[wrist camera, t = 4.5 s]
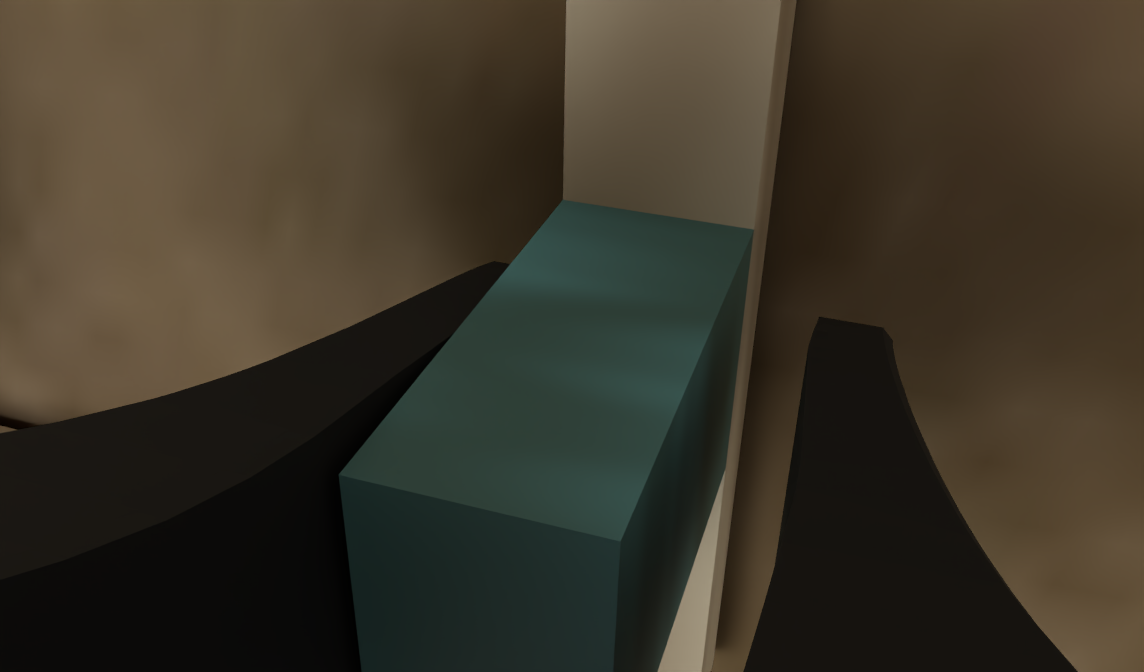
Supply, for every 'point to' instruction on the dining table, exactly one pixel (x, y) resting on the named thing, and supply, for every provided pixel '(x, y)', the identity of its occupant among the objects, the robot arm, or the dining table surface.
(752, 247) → the teal-tipped beige rail
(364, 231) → the dining table surface
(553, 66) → the dining table surface
